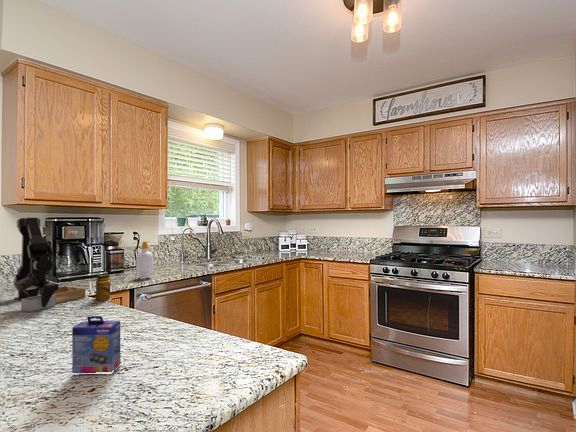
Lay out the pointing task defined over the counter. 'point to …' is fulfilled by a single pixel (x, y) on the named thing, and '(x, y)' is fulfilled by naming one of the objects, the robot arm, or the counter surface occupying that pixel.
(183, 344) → the counter surface
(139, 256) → the soap bottle
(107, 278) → the condiment
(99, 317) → the ink cartridge box
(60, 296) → the big crate
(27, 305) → the small crate
